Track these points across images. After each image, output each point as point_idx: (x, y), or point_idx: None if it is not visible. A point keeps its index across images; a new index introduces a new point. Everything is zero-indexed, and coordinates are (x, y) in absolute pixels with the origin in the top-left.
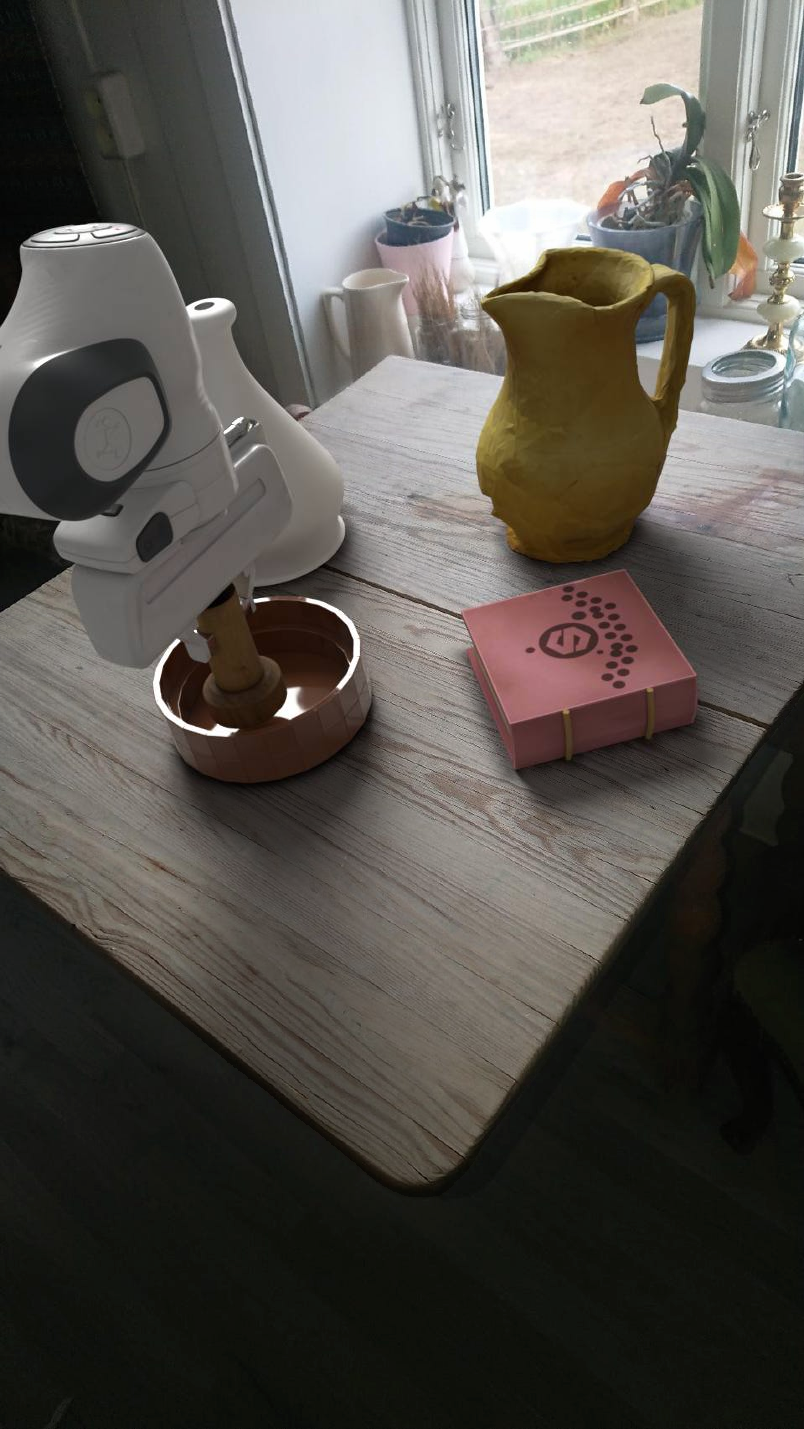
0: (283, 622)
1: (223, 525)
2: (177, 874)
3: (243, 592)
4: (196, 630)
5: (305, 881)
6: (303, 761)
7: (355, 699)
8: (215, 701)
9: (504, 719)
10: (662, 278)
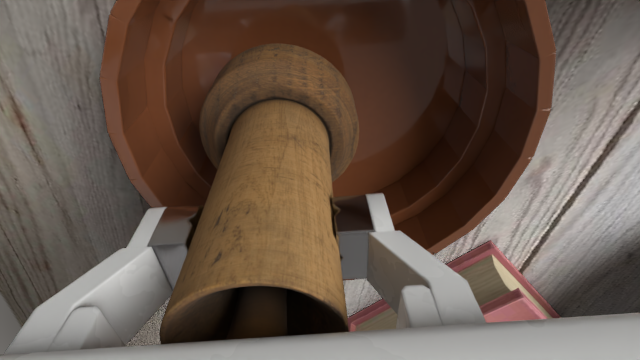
0: (506, 42)
1: None
2: (36, 148)
3: (376, 280)
4: (184, 248)
5: None
6: None
7: None
8: (206, 134)
9: (390, 313)
10: None
